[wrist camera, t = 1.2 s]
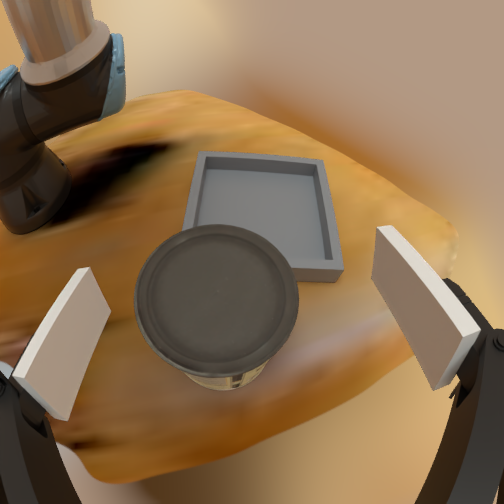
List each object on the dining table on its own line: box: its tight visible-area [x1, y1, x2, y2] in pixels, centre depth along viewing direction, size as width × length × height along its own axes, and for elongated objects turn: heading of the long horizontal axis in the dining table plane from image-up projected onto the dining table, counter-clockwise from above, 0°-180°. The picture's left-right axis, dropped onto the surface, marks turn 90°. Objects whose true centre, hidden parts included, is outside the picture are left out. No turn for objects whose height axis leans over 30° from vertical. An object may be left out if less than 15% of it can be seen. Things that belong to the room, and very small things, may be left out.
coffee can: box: [134, 224, 299, 390], centre depth 23 cm, size 10×10×14 cm
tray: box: [182, 151, 344, 282], centre depth 37 cm, size 18×18×3 cm
